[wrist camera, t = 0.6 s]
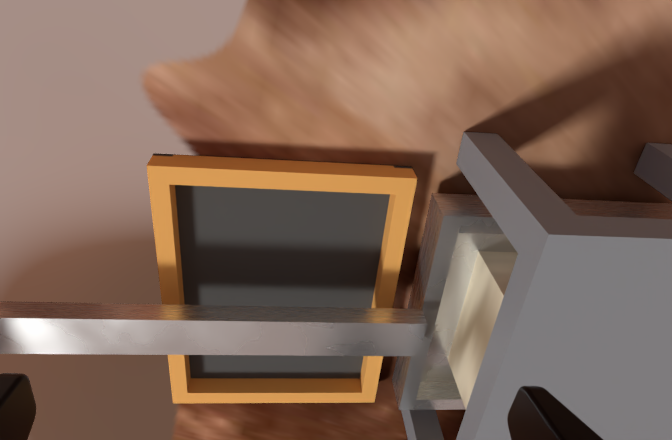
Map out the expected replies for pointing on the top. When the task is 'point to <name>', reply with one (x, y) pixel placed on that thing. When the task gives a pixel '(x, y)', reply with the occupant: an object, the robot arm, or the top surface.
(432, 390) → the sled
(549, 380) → the grey table stand
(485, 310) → the maple block
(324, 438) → the top surface
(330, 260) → the wooden picture frame
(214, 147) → the top surface
